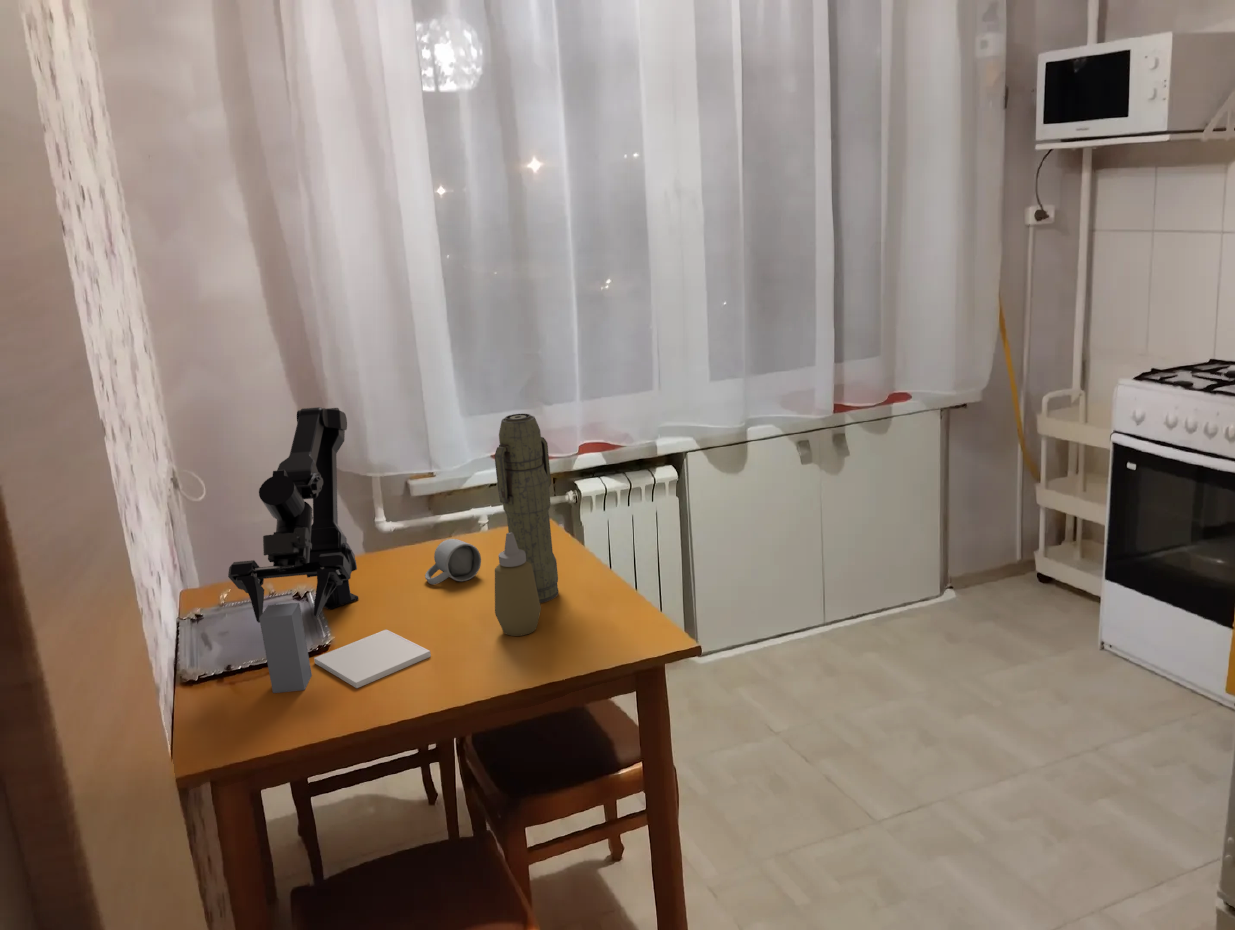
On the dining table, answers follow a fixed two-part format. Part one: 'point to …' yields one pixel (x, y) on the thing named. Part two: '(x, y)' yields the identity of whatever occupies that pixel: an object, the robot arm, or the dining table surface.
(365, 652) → the white plate
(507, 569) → the squeeze bottle
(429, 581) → the ceramic mug
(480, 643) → the dining table surface
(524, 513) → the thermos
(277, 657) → the tall block
